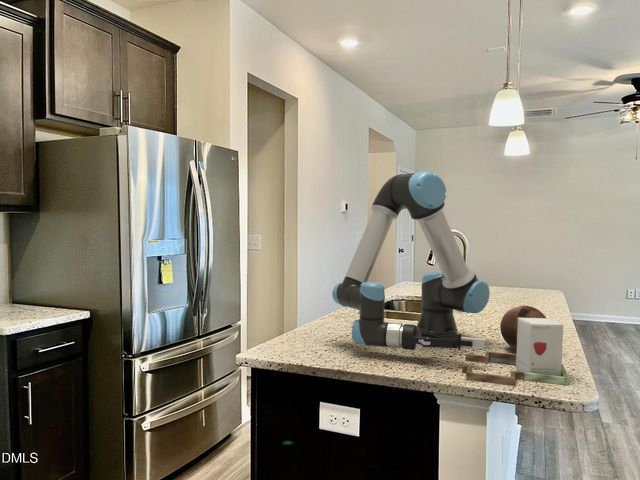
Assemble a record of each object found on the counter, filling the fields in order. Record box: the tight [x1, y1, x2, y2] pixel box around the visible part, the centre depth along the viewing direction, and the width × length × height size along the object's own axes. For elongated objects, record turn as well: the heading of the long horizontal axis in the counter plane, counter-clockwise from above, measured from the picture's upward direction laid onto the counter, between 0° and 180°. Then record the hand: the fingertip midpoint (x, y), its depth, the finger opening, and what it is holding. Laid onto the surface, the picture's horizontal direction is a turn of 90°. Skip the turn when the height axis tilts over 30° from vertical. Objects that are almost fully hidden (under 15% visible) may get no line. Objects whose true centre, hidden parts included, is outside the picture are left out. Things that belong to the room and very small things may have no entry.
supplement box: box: [515, 317, 564, 376], centre depth 135 cm, size 9×9×15 cm
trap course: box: [461, 351, 570, 386], centre depth 137 cm, size 26×26×2 cm
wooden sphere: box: [499, 305, 547, 351], centre depth 160 cm, size 15×15×15 cm
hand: (484, 344), depth 140 cm, fingers closed
